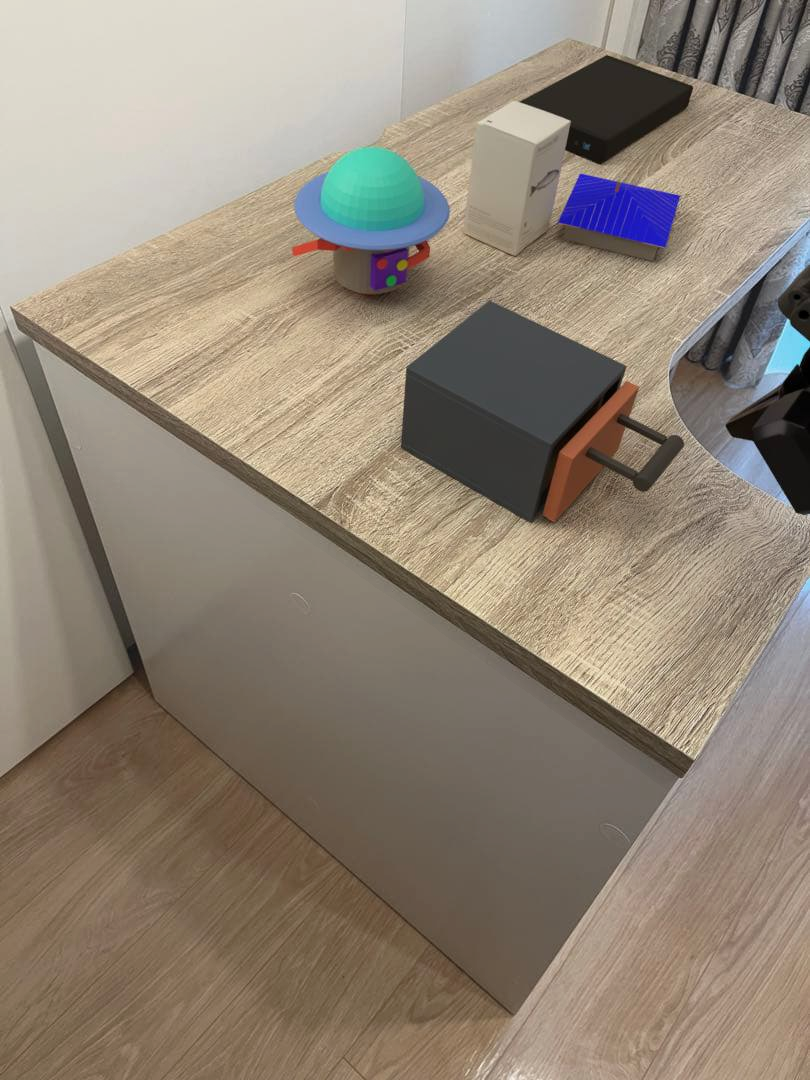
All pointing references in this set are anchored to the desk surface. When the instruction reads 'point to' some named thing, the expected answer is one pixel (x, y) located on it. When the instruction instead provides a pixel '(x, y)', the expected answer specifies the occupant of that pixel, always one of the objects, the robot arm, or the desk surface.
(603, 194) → the roof
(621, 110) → the external hard drive
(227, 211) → the desk surface
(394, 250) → the toy robot
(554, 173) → the white packaging box
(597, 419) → the drawer
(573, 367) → the cabinet
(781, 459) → the robot arm
